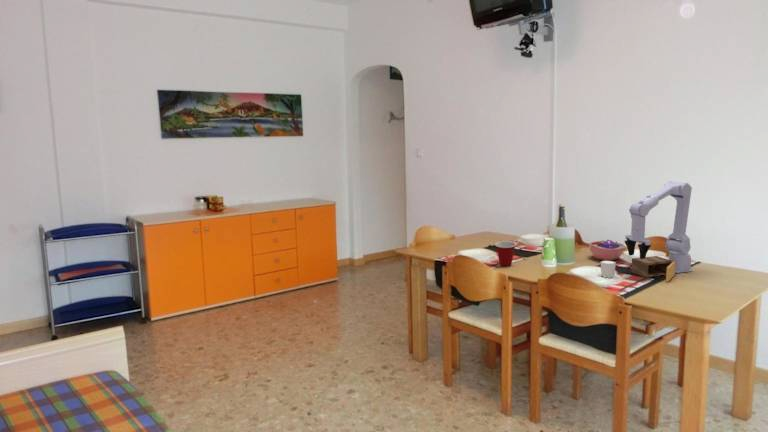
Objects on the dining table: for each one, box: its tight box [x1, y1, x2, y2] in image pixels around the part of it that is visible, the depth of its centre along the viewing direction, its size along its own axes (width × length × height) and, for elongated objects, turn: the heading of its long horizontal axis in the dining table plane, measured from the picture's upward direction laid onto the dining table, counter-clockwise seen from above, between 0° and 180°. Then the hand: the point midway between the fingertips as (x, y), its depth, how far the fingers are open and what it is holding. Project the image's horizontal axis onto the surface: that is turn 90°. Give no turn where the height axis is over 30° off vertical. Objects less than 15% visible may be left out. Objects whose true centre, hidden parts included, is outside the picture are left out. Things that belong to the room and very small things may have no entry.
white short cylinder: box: [600, 260, 617, 278], centre depth 258 cm, size 7×7×7 cm
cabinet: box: [630, 255, 671, 278], centre depth 261 cm, size 14×10×7 cm
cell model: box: [588, 239, 626, 261], centre depth 290 cm, size 17×20×11 cm
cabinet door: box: [665, 261, 676, 283], centre depth 251 cm, size 15×1×7 cm, turn 141°
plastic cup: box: [495, 240, 517, 268], centre depth 283 cm, size 11×11×12 cm
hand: (636, 257), depth 254 cm, fingers open, 7 cm apart
